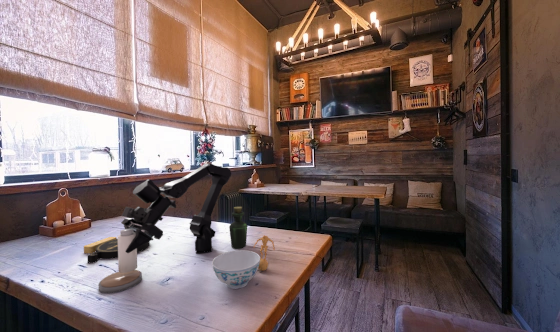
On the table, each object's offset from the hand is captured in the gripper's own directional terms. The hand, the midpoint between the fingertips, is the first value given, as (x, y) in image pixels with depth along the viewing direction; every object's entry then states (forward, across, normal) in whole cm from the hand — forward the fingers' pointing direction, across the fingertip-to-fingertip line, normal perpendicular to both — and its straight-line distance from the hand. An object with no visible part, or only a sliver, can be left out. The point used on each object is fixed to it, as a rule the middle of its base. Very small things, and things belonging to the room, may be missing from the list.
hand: (122, 250), depth 75 cm
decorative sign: (-1, -35, +16) cm, 39 cm away
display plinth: (+8, 0, +7) cm, 10 cm away
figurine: (-15, +34, +30) cm, 47 cm away
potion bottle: (-23, +10, +38) cm, 45 cm away
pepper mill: (+4, 0, +6) cm, 7 cm away
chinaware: (-6, +32, +21) cm, 39 cm away
